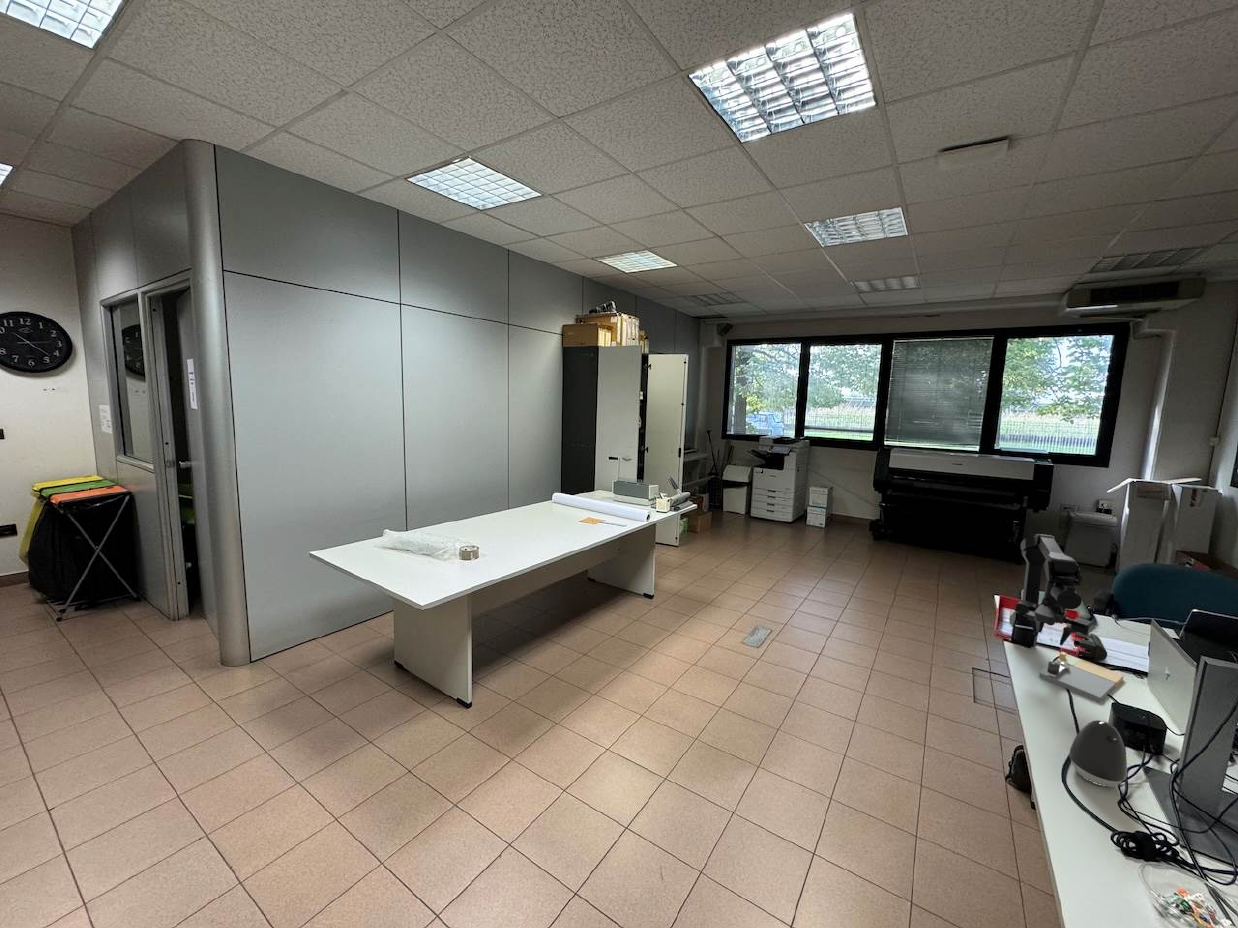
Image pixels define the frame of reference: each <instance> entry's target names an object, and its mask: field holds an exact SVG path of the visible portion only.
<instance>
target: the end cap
mask: <svg viewBox="0 0 1238 928" xmlns="http://www.w3.org/2000/svg"><path fill="white" fill-rule="evenodd" d="M1074 634H1075V635H1074V637H1075V638H1078V639H1074V640H1073V646H1075V647H1079V646H1080V647H1081V648H1083V649H1084V650H1085V651H1086V652H1085V651H1080V650H1079V651H1077V653H1078V655H1076V658H1079V659H1082V660H1084V661H1087V662H1090V663H1099V662H1102V661H1104V660H1106V659H1107V658H1108V651H1107V650H1106V647H1105V646H1104V644H1103V642H1102V640H1101V638H1100V637H1099V636H1098V635H1096V634H1094V633H1092V632H1090V633H1089V634H1090V635H1089V634H1088V635H1085V634H1082V633H1079V632H1077V633H1074ZM1079 655H1082V656H1079Z"/></svg>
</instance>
